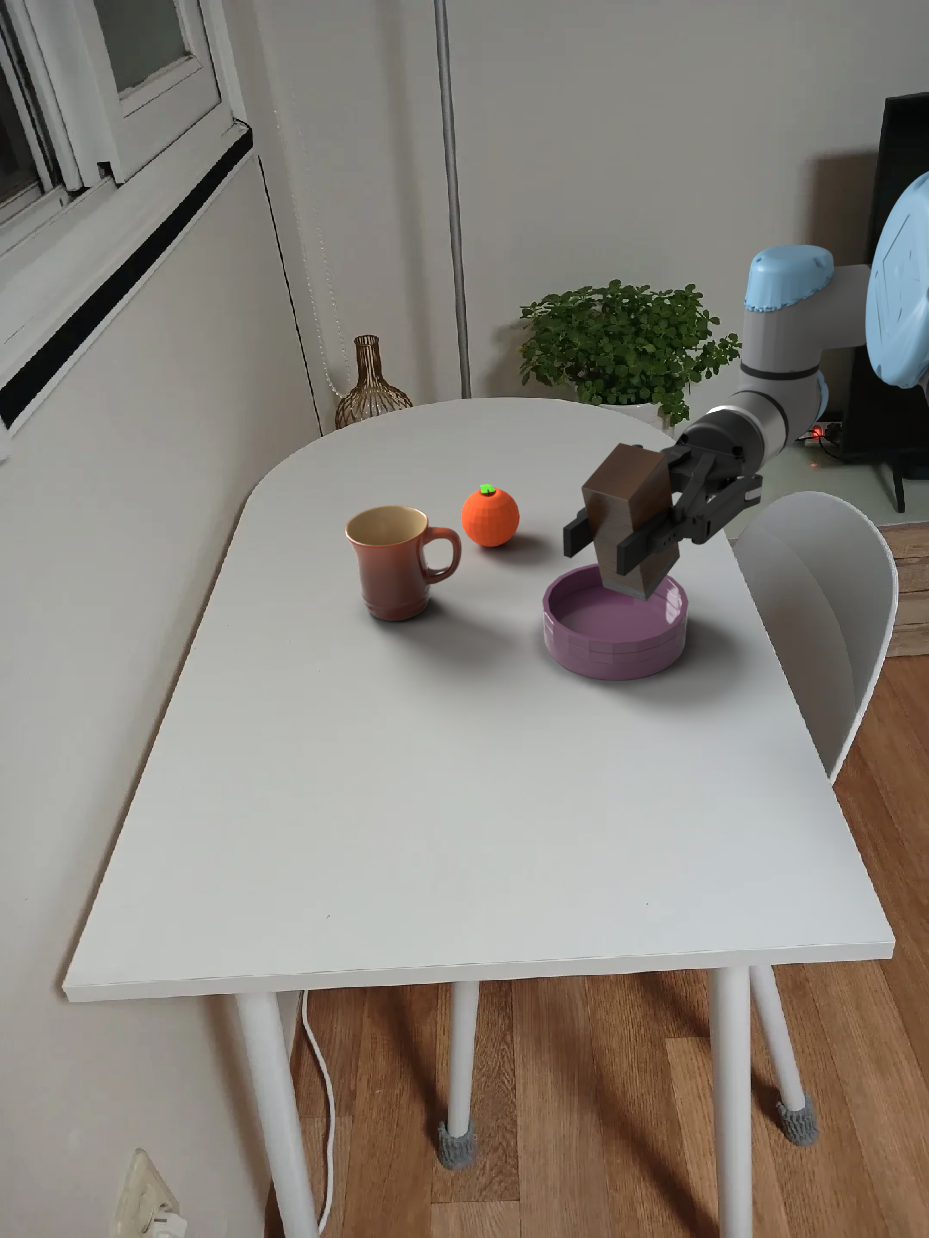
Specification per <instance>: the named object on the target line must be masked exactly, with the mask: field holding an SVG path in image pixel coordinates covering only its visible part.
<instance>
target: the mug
mask: <svg viewBox="0 0 929 1238" xmlns="http://www.w3.org/2000/svg"><path fill="white" fill-rule="evenodd" d="M429 522H430V521H429V516H427V515H426V514H425V513H424V512H423V511H422V510H419V509H418V508H415V507H414V506H413V507H412V506H408V505H403V504H401V505H400V504H389V505H380V506H376V507H372V508H369V509H366V510H362V511H361V512H359V513H357V514H356V515H354V516H353V517H351V518H350V519H349V520H348V521H347V523H346V524H345V527H344V536H345V538H346V539H347V541H348V543H349V545H350V546H351V549H352V550H353V553H354V555H355V559H356V563H357V571H358V578H359V585H360V594H361V598H362V601H363V604H364V605H365V608H366V610H367V611H368V613H369V614H370V615H371V616H373V617H375V618H378V619H379V620H382V621H387V622H400V621H405V620H408V619H412V618H413V617H415V616H417V615H419V614H420V613H422V612H423V611H424V610H425V609H426V608H427V607H428V604H429V601H430V595H431V585H435V584H438V583H441V582H443V581H445V580H447V579H449V578H451V577H452V576H453V575H454V574H455V573H456V572H457V570H458V568H459V566H460V563H461V560H462V553H463V552H462V551H463V549H462V548H463V546H462V540H461V537H460V535H459V534H458V533H457V531H456V530H454V529H452V528H449V527H445V526H444V527H442V526H441V527H439V526H430V524H429ZM442 539H443V540H447V541H449V542H450V543H451V545H452V559H451V561H450V562H449V564H448V565H446V566H445V567H442V568H437V569H435V568H430V567H429V565H428V561H427V558H426V557H427V556H426V550H425V549H426V547H425V546H426V545H428V544H429V543H431V542H433V541H435V540H442Z"/></svg>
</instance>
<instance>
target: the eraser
mask: <svg viewBox="0 0 929 1238" xmlns="http://www.w3.org/2000/svg"><path fill="white" fill-rule="evenodd" d="M659 452H660V451H656V450H655V451H654V450H652V449H651V450H650V449H647V448H644V447H643V448H639V447H635V446H632V444H631V445H630V444H628V443H627V444H626V443H623V442H619V443H618V444H617V445H616V446H615V447H614V448H613V450H611V452H610V453H609V454H608V456H607V457H606V458H605V459H604V460H603V461H602V462H601V463H600V465H599V466H598V467H597V468H596V469H595V471H594V472H593V473H592V474H591V475H590V476H589V477H588V479H587V480H586V481H585V482H584V483H583V484H582V486H581V488H580V489H581V493H582V498H583V503H584V507H586V512H587V516H588V520H589V525H590V529H591V534H592V538H593V542H592V543H593V547H594V551H595V556H596V560H597V563H598V565H599V570H600V574H601V578H602V583H603V587H606V588H608V589H611V590H614V591H617V592H620V593H622V594H625V595H628V596H631V597H634V598H637V599H639V600H642V601H645V602H646V601H647V600H648V599H649V598H650V596H651V595H652V594H653V592H654V591H655V590H656V588H657V587H658V586H659V584H660V583H661V582H662V580H663V579H664V578H665V576H666V575H668V574H669V573H670V571H671V570H672V568H673V567H674V566H675V565H676V563H678V561H679V559H680V558H681V552H680V548H679V547H680V545H679V542H674V543H673V544H672V545H671V546H669V547H668V548H667V549H666V550H665V551H664V552H662V553H660V554H657V555H656V554H653V553H652V554H651V555H649V556H648V557H647V558H646V559H645V560H643V561H642V562H641V563H640V564H639V565H638V566H636V567H635V568H634V569H633V570H632V571H630V572H629V573H628V574H627V575H626V576H621V575H618V574H616V572H617V545H618V544H619V543H620V542H621V541H623V540H624V539H625V538H626V537H628V536H629V535H630V534H631V533H633V532H634V531H635V530H637V529H638V528H639V527H640V526H642V525H643V524H644V523H645V522H647V521H648V520H649V519H650V518H652V517H653V516H654V515H655V514H657V513H658V512H659V511H660V512H663V513H667V520H668V519H669V518H670V505H672V507H673V505H674V501H673V494H672V493H671V485H670V478H669V470H668V463H667V455H666V454H663V453H659Z"/></svg>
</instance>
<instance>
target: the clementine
mask: <svg viewBox="0 0 929 1238" xmlns="http://www.w3.org/2000/svg"><path fill="white" fill-rule="evenodd" d="M479 487H480V489H478V490H476V491H474V492H473V493H472V494H470V495H469V496H468V498H467V499H466V500H465V501H464V504H463V506H462V509H461V512H460V513H461V515H460V518H461V519H460V520H461V521H460V522H461V525H462V529H463V531H464V533H465V534H466V535H467V537H468V538H469V539H470V540H471V541H472V542H474V543H476V544H478V545H481V546H483V547H492V548H493V547H499V546H500V545H504V543H505V544H506V543H507V542H508V541H509V540H510V539H512V537H513V536H514V535H515V534H516V532H517V530H518V528H519V525H520V518H521V516H520V515H521V514H520V509H519V505H518V504H517V502H516V500H515V499H514V498H513V496H511V494H509V493H508V492H507V491H505V490H503V489H501V488H497V487H494V486H493V485H492V484H490V483H486V484H480V485H479Z"/></svg>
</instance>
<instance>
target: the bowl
mask: <svg viewBox="0 0 929 1238" xmlns="http://www.w3.org/2000/svg"><path fill="white" fill-rule="evenodd" d="M541 603H542V621H543V639H544V640H543V641H544V645H545V648H546V650H547V652H548V654H549V655H550V656H551V657H552V658H553V660H554V661H555V662H557V663H558V664H559V665H560V666H562V667H563V668H565V669H566V670H568V671H571V672H573V673H574V674H577V675H581V676H584V677H587V678H590V679H591V678H592V679H596V680H603V681H627V680H629V681H630V680H636V679H641V678H645V677H647V676H652V675H654V674H656V673H659V672H661V671H663V670H665V669H667V668H668V667H669V666H671V665H672V664H673V663H674V662H676V661H677V660H678V659H679V658H680V656H681V654H682V653H683V651H684V650H685V649H684V648H685V645H686V637H687V625H688V615H689V604H690V603H689V599H688V596H687V594H686V590H685V589H684V587H683V586H682V585H681V584H680V583H679V582H678V581H677V580H675V578H673V577H672V576H671V575H668V574H667V575H666V576H665V578H664V579H663V580H662V582H661V583H660V584H659V586H658V587H657V588H656V590H655V591H654V592H653V594H652V595H651V596H650V598H649V599H648V600H647V601H646V602H645V601H642V600H639V599H637V598H634V597H631V596H628V595H625V594H622V593H620V592H617V591H614V590H611V589H608V588H606V587H603V583H602V578H601V574H600V570H599V565H598V562H596V563H591V564H587V565H583V566H579V567H575V568H573V569H571V570H569V571H567V572H565V573H563V574H562V575H559V576H558V577H556V578H555V579H554V580H553V581H552V582H551V583H550V584H549V585H548V586H547V587H546V589H545V592H544V595H543V597H542V600H541Z"/></svg>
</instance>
